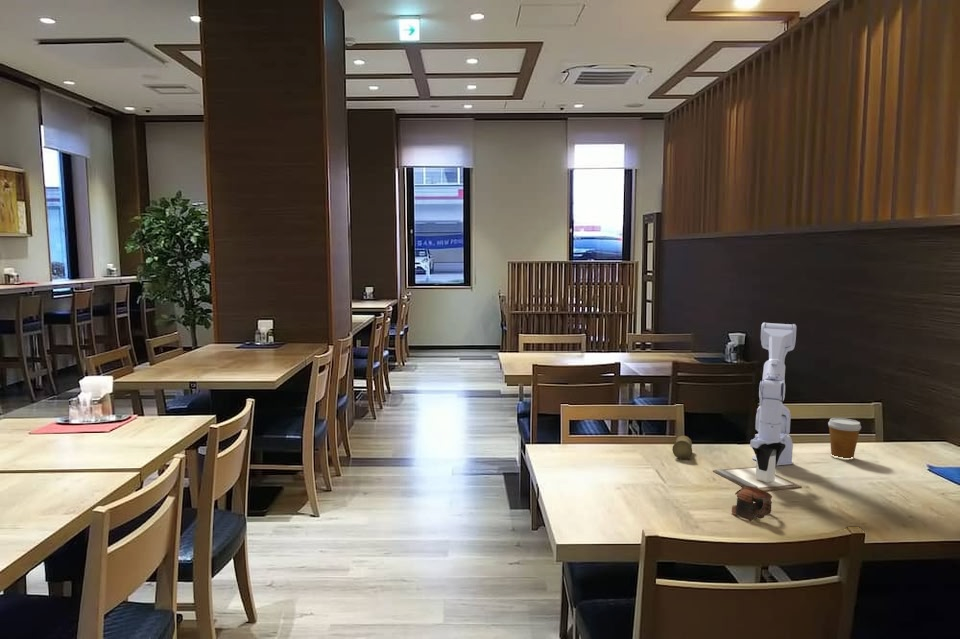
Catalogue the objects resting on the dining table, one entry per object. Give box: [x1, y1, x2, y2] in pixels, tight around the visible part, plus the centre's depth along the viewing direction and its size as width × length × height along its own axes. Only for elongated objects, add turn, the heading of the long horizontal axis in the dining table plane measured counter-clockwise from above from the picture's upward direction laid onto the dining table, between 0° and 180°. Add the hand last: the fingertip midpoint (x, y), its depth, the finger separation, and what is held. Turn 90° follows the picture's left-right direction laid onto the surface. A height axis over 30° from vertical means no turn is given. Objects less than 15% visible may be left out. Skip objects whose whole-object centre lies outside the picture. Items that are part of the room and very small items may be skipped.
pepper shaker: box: [672, 435, 693, 461], centre depth 213 cm, size 6×6×11 cm
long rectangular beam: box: [755, 449, 776, 483], centre depth 188 cm, size 4×4×9 cm
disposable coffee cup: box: [827, 417, 862, 458], centre depth 214 cm, size 10×10×12 cm
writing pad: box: [712, 466, 802, 492], centre depth 191 cm, size 16×18×1 cm
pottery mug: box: [731, 485, 773, 522], centre depth 163 cm, size 12×10×8 cm
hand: (767, 468), depth 188 cm, fingers closed on long rectangular beam, 4 cm apart
